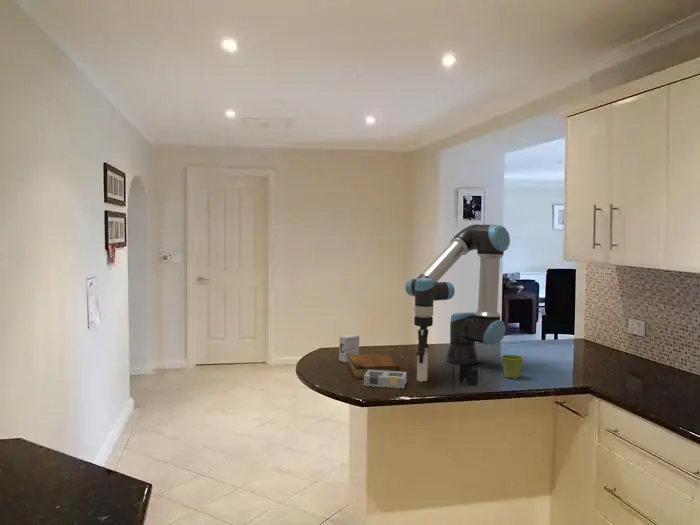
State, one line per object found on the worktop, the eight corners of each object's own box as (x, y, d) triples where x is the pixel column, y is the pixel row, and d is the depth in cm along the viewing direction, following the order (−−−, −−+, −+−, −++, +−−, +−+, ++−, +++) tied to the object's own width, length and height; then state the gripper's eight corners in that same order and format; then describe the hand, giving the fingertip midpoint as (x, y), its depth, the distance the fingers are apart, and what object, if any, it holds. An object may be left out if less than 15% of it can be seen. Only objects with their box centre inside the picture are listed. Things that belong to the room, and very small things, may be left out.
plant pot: (495, 375, 260) (496, 355, 260) (513, 373, 264) (514, 353, 264) (509, 380, 252) (510, 360, 251) (527, 378, 256) (528, 358, 255)
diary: (399, 379, 253) (400, 366, 253) (355, 380, 250) (355, 366, 250) (388, 366, 276) (388, 353, 276) (347, 366, 273) (347, 354, 273)
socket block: (406, 381, 247) (406, 371, 247) (403, 388, 236) (404, 378, 236) (368, 379, 250) (368, 369, 250) (363, 386, 239) (363, 375, 239)
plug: (427, 379, 252) (427, 348, 251) (426, 381, 248) (427, 350, 247) (417, 378, 253) (418, 348, 252) (416, 381, 249) (417, 350, 248)
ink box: (352, 358, 288) (353, 334, 287) (359, 360, 284) (360, 335, 283) (338, 360, 283) (338, 335, 282) (345, 363, 279) (345, 337, 278)
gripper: (416, 311, 261) (415, 359, 263) (411, 320, 237) (410, 373, 238) (434, 312, 260) (432, 361, 261) (431, 321, 236) (429, 374, 237)
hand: (422, 367), depth 250 cm, fingers open, 13 cm apart
